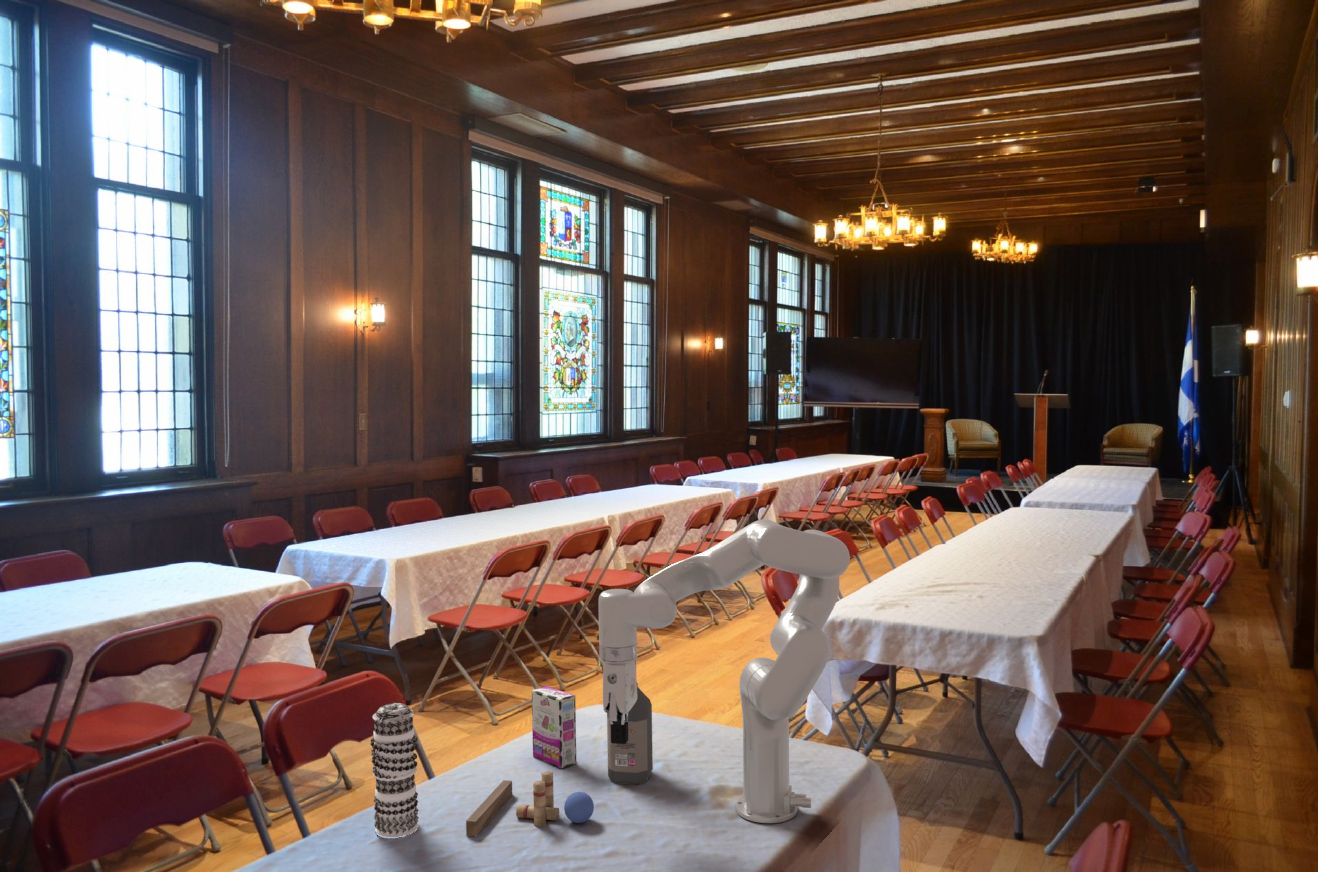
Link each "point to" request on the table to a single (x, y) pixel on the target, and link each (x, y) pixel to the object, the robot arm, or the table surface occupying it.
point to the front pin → (528, 812)
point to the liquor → (633, 745)
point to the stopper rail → (488, 808)
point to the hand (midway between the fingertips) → (619, 741)
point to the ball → (579, 807)
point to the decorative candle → (394, 770)
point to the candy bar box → (554, 726)
